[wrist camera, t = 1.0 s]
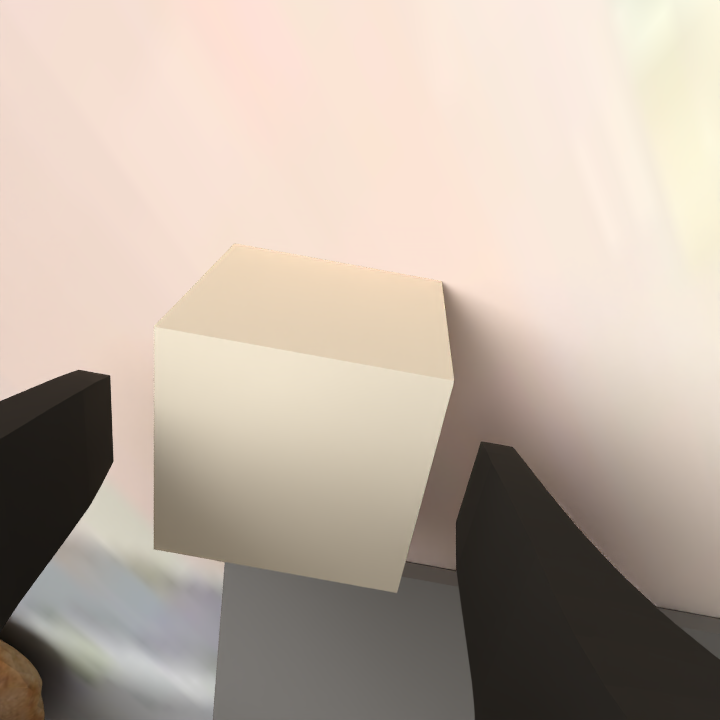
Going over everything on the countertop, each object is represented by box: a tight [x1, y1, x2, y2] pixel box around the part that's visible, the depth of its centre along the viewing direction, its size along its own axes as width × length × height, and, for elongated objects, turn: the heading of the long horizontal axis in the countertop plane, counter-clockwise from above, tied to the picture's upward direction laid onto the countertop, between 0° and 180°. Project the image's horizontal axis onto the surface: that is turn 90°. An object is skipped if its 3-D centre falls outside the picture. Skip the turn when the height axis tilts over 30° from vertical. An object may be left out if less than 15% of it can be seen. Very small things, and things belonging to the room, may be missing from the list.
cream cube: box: [154, 244, 454, 593], centre depth 13 cm, size 5×5×5 cm
